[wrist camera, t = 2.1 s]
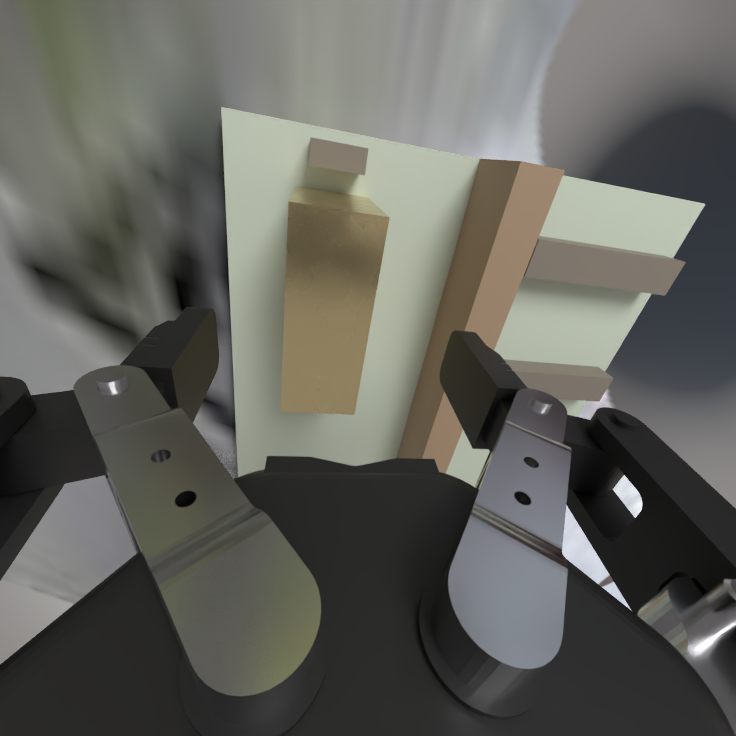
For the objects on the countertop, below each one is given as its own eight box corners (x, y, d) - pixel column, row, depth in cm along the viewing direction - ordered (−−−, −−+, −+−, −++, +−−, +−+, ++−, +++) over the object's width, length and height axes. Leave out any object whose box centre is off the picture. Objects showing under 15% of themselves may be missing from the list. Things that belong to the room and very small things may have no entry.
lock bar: (345, 353, 22) (354, 414, 17) (288, 349, 21) (280, 412, 16) (367, 197, 17) (389, 217, 12) (296, 185, 17) (288, 201, 12)
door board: (521, 492, 34) (551, 541, 30) (241, 493, 29) (229, 552, 25) (689, 201, 21) (785, 215, 16) (226, 109, 16) (193, 94, 11)
